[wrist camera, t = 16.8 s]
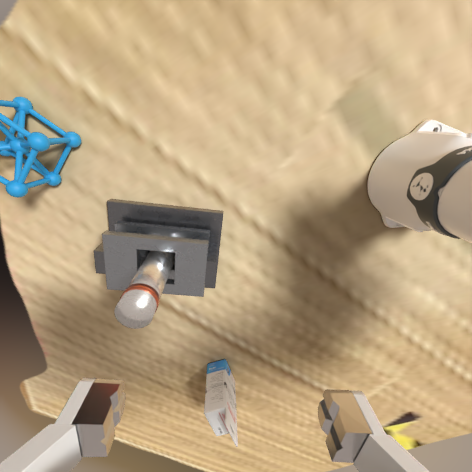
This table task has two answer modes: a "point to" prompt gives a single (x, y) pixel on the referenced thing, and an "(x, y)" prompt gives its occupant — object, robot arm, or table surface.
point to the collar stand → (160, 244)
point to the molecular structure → (33, 141)
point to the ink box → (221, 399)
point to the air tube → (145, 290)
